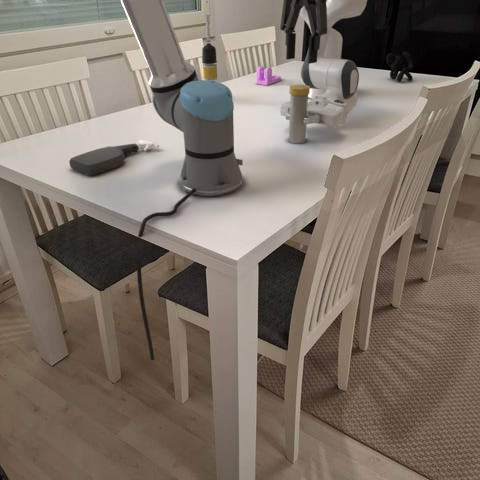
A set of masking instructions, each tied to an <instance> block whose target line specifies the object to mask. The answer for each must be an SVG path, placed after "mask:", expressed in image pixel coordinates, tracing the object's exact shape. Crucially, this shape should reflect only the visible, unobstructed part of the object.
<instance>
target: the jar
mask: <svg viewBox="0 0 480 480" xmlns="http://www.w3.org/2000/svg"><path fill="white" fill-rule="evenodd" d="M289 99H290V101H289V102H290V120H289V123H288V125H289V126H288V142H289V143H291V144H304V143H305V142H306V136H307V124H304V123H303V121H304V120H303V119H304V117H306V116H307V105H308V103H309V97H308V95H304V96H295V95H291V94H290V98H289Z"/></svg>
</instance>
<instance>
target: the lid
mask: <svg viewBox="0 0 480 480" xmlns="http://www.w3.org/2000/svg"><path fill="white" fill-rule="evenodd" d="M309 92H310V87H309V86H307V85H304V84H292V85H290V86H289V95H290V96H291V95H295V96H304V95H308V94H309Z"/></svg>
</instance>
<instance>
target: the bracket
mask: <svg viewBox="0 0 480 480" xmlns="http://www.w3.org/2000/svg"><path fill="white" fill-rule="evenodd" d="M281 80H282V76H281V75H273V69H272V67H265V68H264V66H258V67H257V68H256V85H263V86H269V85H273V84H274V83H277V82H280V81H281Z"/></svg>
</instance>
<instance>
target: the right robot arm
mask: <svg viewBox="0 0 480 480" xmlns="http://www.w3.org/2000/svg"><path fill="white" fill-rule="evenodd" d="M316 1H317V0H316ZM367 2H368V0H327V1H326V4H327V34H324V35H322V36H321V37H320V48H319V50H318V53H317V62H316V63H311V64H309V63H308V55H309V47H308V49H307V52H306V55H305V58H304V61H303V64H302V66H301V69H300V76H301V80H302V82H303V85H307V86H309V87H310V92H309V94H308V99H310V101H308V105H307V116H306V117H304V119H303V120H304V121H303V123H304V124H306V125H310V124H317V125H321V126H326V127H329V128H337V127H340V126H343V125H345V124H346V121H347V117H348V116H347V115H348V113H350V112H351V111H353V109H354V108H355V107H356V106H357V103H358V100H359V95H358V91H357V89H358V86H359V81H360V73H359V69H358V66H357V65H356V63H355V62H354V61H353V60H351V59H344V58H342V50H343V40H344V39H343V36H342V34H341V33H340V32H339V31H338V30H336V29H335V28H333V26H334V25H335V24H336V23H337V22H339V21H341V20H343V19H351V18H354V17H355V18H356V17H359V16H361V15H362V13H363V12H364V11H365V8H366V7H367V4H368V3H367ZM299 17H300V18H301V19H302V20H303V21H305V23H306V24H307V26H308V28H309V30H310V33H311V34H312V32H311V27H310V23H309V18H308V13H307V10H306V9H305V6H303V8H302V9H301V10H300V13H299ZM322 30H323V29H322ZM280 116H283V117H285V120H287V121H290V101H286V102H282V103H281V104H280Z"/></svg>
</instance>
